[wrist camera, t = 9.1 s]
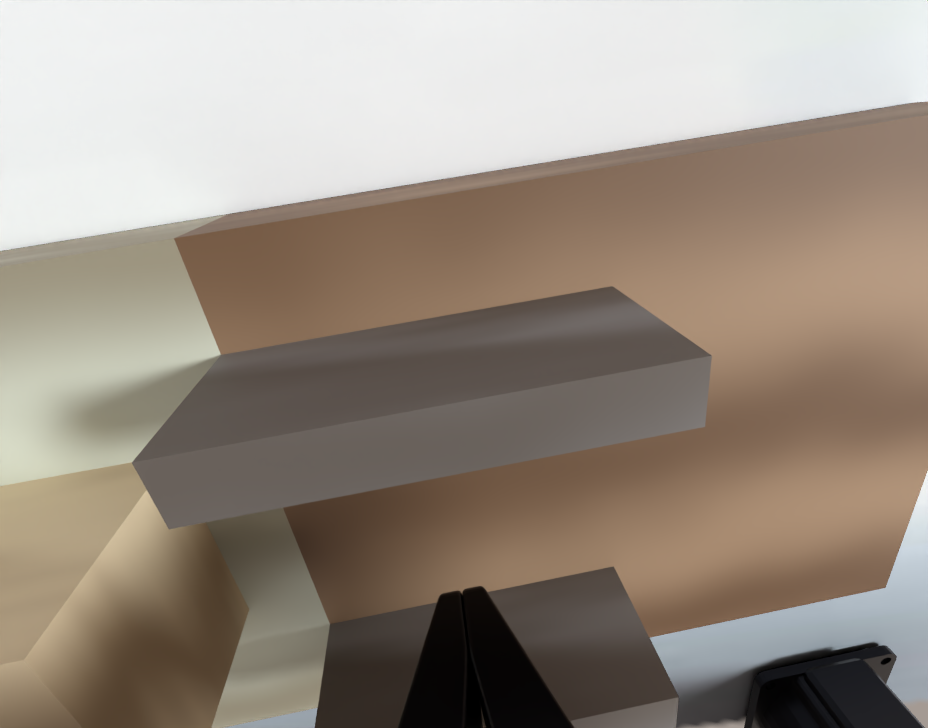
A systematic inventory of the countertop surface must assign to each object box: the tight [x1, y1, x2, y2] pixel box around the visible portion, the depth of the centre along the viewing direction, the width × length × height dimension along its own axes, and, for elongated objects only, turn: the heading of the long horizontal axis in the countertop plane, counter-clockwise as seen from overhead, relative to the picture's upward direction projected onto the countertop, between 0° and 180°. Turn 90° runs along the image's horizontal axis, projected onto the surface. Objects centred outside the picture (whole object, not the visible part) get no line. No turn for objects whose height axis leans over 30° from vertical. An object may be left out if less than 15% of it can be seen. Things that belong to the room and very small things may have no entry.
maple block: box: [0, 462, 249, 728], centre depth 9 cm, size 5×5×4 cm
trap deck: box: [0, 102, 928, 728], centre depth 11 cm, size 14×35×6 cm, turn 98°
